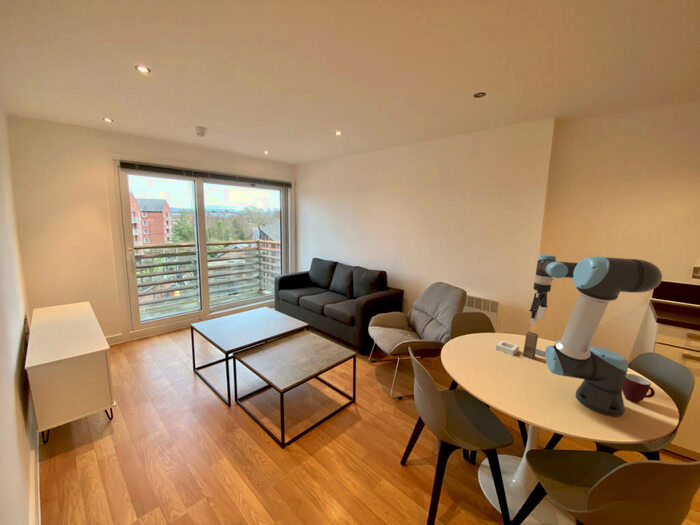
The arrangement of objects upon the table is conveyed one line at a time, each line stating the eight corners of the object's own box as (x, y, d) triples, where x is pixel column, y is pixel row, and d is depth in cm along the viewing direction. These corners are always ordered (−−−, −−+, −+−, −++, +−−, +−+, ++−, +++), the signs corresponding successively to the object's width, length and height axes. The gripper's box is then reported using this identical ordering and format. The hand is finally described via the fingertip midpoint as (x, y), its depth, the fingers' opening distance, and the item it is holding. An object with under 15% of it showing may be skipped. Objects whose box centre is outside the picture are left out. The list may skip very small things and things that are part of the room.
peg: (531, 359, 149) (535, 336, 147) (522, 356, 152) (526, 333, 150) (534, 356, 152) (538, 334, 150) (525, 353, 155) (528, 331, 153)
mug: (641, 396, 120) (647, 375, 118) (658, 409, 112) (663, 387, 111) (614, 392, 122) (618, 372, 120) (628, 404, 114) (633, 383, 113)
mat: (543, 356, 152) (543, 356, 152) (529, 351, 158) (529, 351, 158) (547, 353, 157) (547, 352, 157) (533, 348, 162) (533, 347, 162)
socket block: (512, 355, 152) (513, 350, 152) (495, 349, 159) (496, 344, 159) (518, 350, 158) (519, 346, 158) (501, 345, 165) (502, 340, 164)
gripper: (544, 288, 134) (537, 328, 138) (557, 281, 150) (551, 318, 154) (526, 285, 140) (520, 324, 144) (541, 279, 156) (535, 314, 160)
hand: (536, 321), depth 149 cm, fingers open, 13 cm apart
